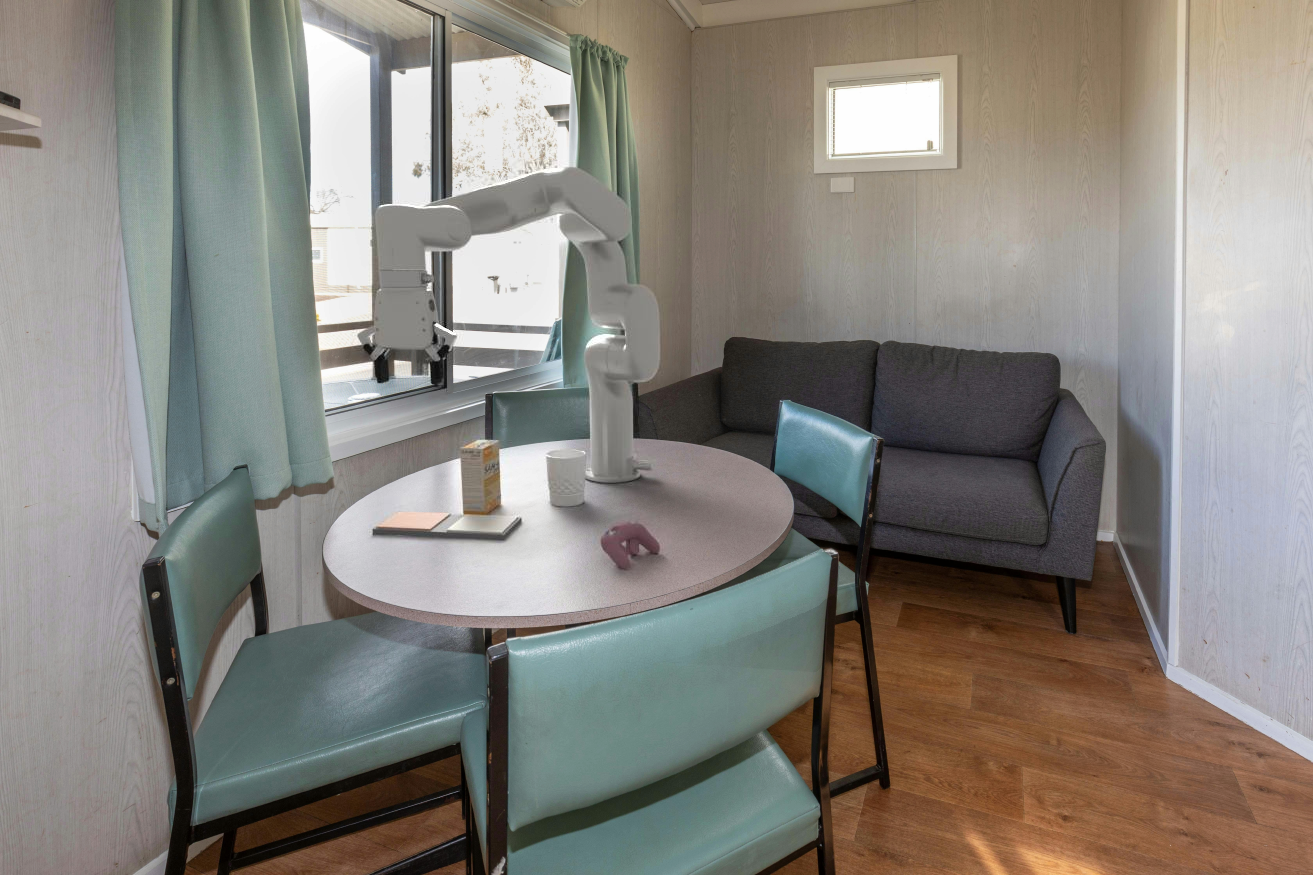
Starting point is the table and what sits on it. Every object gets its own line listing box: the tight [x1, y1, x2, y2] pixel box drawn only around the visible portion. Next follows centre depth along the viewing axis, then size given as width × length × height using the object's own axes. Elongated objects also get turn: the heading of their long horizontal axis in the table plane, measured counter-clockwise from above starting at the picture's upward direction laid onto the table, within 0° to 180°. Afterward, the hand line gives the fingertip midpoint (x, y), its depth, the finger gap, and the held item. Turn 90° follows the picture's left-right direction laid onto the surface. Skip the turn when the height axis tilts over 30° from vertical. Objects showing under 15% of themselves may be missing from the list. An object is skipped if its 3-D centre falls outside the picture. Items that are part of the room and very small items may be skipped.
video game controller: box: [600, 520, 661, 570], centre depth 129 cm, size 10×5×7 cm, turn 146°
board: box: [371, 510, 523, 542], centre depth 144 cm, size 24×10×1 cm, turn 82°
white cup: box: [545, 448, 587, 508], centre depth 159 cm, size 8×8×10 cm
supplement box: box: [459, 439, 502, 515], centre depth 154 cm, size 8×5×13 cm, turn 168°
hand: (409, 382), depth 137 cm, fingers open, 9 cm apart
